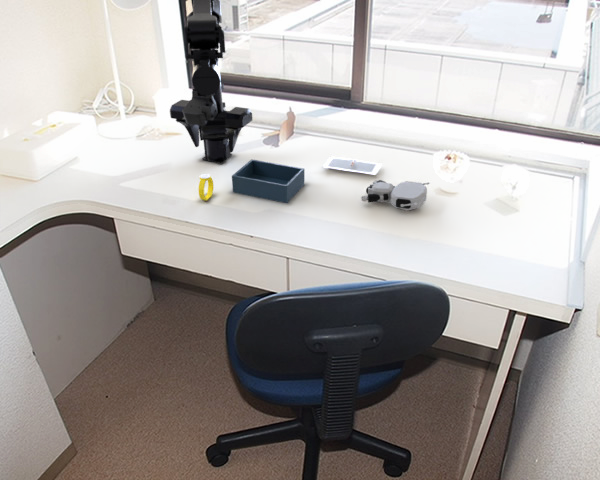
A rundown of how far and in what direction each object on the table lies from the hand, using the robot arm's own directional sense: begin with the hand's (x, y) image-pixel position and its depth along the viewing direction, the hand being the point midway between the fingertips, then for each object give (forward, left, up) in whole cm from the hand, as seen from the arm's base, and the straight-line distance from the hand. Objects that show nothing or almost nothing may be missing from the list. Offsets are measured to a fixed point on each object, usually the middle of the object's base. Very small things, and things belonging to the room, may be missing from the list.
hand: (214, 149), depth 133 cm
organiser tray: (+10, +9, -12) cm, 18 cm away
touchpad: (+26, +29, -13) cm, 41 cm away
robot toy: (+42, +14, -13) cm, 46 cm away
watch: (-2, -2, -13) cm, 13 cm away
